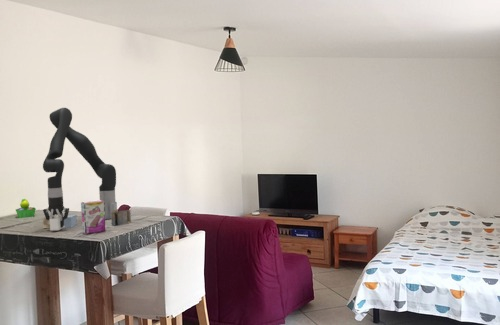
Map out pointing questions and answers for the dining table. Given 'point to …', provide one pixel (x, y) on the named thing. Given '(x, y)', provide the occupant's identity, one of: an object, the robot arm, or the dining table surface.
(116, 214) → the architectural model on board
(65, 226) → the blue block
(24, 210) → the fruit basket
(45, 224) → the oak block
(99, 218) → the candy bar box
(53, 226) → the white block
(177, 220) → the dining table surface
